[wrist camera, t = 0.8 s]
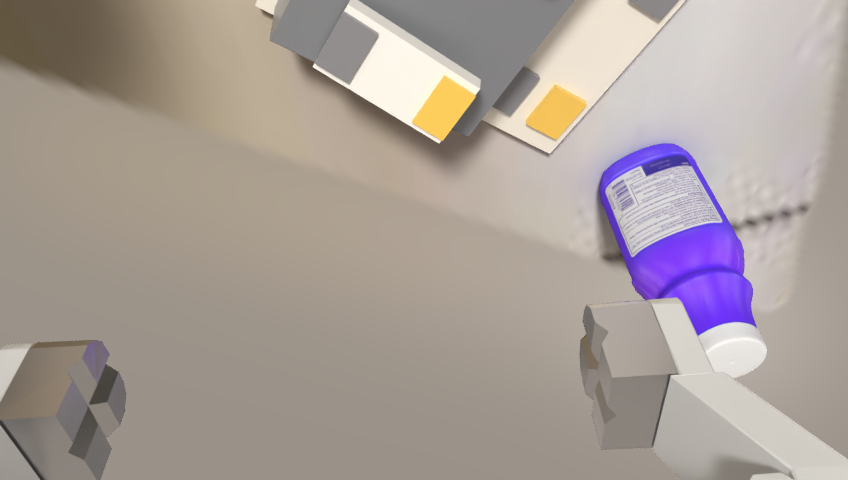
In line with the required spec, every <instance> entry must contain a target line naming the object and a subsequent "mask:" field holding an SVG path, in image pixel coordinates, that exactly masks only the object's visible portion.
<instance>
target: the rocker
mask: <svg viewBox="0 0 848 480" xmlns="http://www.w3.org/2000/svg"><path fill="white" fill-rule="evenodd" d="M313 68H315V69H317V70H318V71H320V72H322V73H323V74H325V75H327V76H328V77H330V78H331V79H333V80H335V81H336V82H338V83H340V84H341V85H343V86H345V87H346V88H348V89H350V90H351V91H353V92H355V93H356V94H358V95H360V96H361V97H363V98H364V99H366V100H368V101H369V102H371V103H373V104H374V105H376V106H378V107H379V108H381V109H383V110H384V111H386V112H388V113H389V114H391V115H393V116H394V117H396V118H398V119H399V120H401V121H402V122H404V123H406V124H407V125H409V126H411V127H412V128H414V129H416V130H417V131H419V132H421V133H422V134H424V135H426V136H427V137H429V138H431V139H432V140H434V141H435V142H437V143H440V142H441V141H443V140H444V139H445V137H446V136H447V135H448V133H449V132H450V131H451V129H452V128H453V127H454V125H455V124H456V123H457V121H458V120H459V119H460V117H461V116H462V115H463V113H464V112H465V111H466V109H467V108H468V107H469V105H470V104H471V103H472V101H473V100H474V99H475V97H476V94H477V93H478V91H479V90H480V83H481V79H479V78H478V77H476V76H475V75H473V74H471V73H470V72H468V71H467V70H465V69H464V68H462V67H461V66H459V65H458V64H456V63H454V62H453V61H451V60H450V59H448V58H447V57H445V56H444V55H442V54H441V53H439V52H437V51H436V50H434V49H433V48H431V47H430V46H428V45H427V44H425V43H423V42H422V41H420V40H419V39H417V38H416V37H414V36H413V35H411V34H410V33H408V32H406V31H405V30H403V29H402V28H400V27H399V26H397V25H396V24H394V23H392V22H391V21H389V20H388V19H386V18H385V17H383V16H382V15H380V14H379V13H377V12H375V11H374V10H372V9H371V8H369V7H368V6H366V5H365V4H363V3H362V2H360V1H358V0H350V1H349V3H348V5H347V7H346V8H345V10H344V12H343V14H342V15H341V17H340V19H339V21H338V22H337V24H336V26H335V28H334V30H333V31H332V33H331V35H330V37H329V38H328V40H327V42H326V44H325V45H324V47H323V49H322V51H321V52H320V54H319V56H318V58H317V60H316V61H315V63H314V65H313Z"/></svg>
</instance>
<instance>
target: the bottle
mask: <svg viewBox="0 0 848 480" xmlns="http://www.w3.org/2000/svg"><path fill="white" fill-rule="evenodd" d="M600 195H601V202H602V205H603V206H604V209H605V212H606V214H607V217H608V219H609V222H610V225H611V227H612V230H613V233H614V235H615V238H616V240H617V243H618V245H619V248H620V251H621V253H622V256H623V258H624V261H625V264H626V266H627V269H628V271H629V274H630V276H631V278H632V284H633V286H634V288H635V290H636V291H637V293H639V294H640V295H641V296H642V297H643V298H644V299H645V300H651V299H664V298H676V297H677V298H678V299H679V300H680V301H682V303H683V305H684V307H685V310H686V312H687V314H688V316H689V318H690V320H691V322H692V325H693V327H694V329H695V331H696V333H697V335H698V337H699V340H700V342H701V344H702V346H703V348H704V350H705V352H706V355H707V357H708V359H709V361H710V363H711V365H712V368H713V370H714V372H725V373H726V374H728V375H729V376H730V377H732V378H736V377H739V376H742V375H744V374H747V373H748V372H750V371H752V370H754V369H755V368H756V367H758V366H759V365H760V364H761V363H762V362H763V361H764V359H765V357H766V353H767V348H766V345H765V343H764V341H763V339H762V337H761V334H760V332H759V330H758V329H757V327H756V324H755V321H754V318H753V315H752V310H751V301H752V296H753V288H752V285H751V283H750V282H749V281H748V280H747V279H746V278H745V277H744V276H743V273H744V249H743V246H742V243H741V241H740V240H739V239H738V237H737V236H736V233H735V231H734V230H733V228H732V226H731V224H730V223H729V221H728V219H727V217H726V216H725V214H724V212H723V210H722V208H721V207H720V205H719V203H718V202H717V200H716V198H715V196H714V194H713V193H712V191H711V189H710V187H709V186H708V184H707V182H706V180H705V178H704V177H703V175H702V173H701V171H700V170H699V168H698V166H697V164H696V162H695V160H694V159H693V157H692V156H691V155H690V154H689V153H688V152H687V151H686V150H684V149H683V148H681V147H679V146H677V145H675V144H658V145H653V146H650V147H646V148H644V149H641V150H638V151H636V152H634V153H631V154H629V155H627V156H625V157H624V158H622V159H620V160H618V161H617V162H615V163H614V164H612V165H611V166H610V167H609V168H608V169H607V170H606V171H604V173H603V176H602V179H601V184H600Z"/></svg>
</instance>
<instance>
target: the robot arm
mask: <svg viewBox="0 0 848 480" xmlns="http://www.w3.org/2000/svg"><path fill="white" fill-rule="evenodd" d="M583 323H584V327H585V330H586V335H585V336H584V337H583V338H582V339H581V343H580V368H581V375H582V381H583V385H584V389H585V392H586V395H588V396H589V397H590V398H591V399H593V400H594V402H593V409H592V419H593V423H594V426H595V430H596V433H597V437H598V441H599V444H600V448H601V450H607V449H631V448H653V451H654V452H655V453H656V454H657V455H658V456H659V457H660V458H661V459H662V460H663V461H664V462H665V463H666V464H667V465H668V466H669V467H670V469H671V470H673V471H674V472H675V474H676V475H677V476H678V477H679V478H680V479H681V480H848V459H846V458H845V457H844V456H842V455H841V454H839V453H838V452H837V451H835V450H834V449H832V448H831V447H829V446H828V445H827V444H825V443H824V442H822V441H821V440H819V439H818V438H816V437H815V436H814V435H812V434H811V433H810V432H808V431H807V430H805V429H804V428H802V427H801V426H800V425H798V424H797V423H796V422H794V421H793V420H791V419H790V418H788V417H787V416H785V415H784V414H783V413H781V412H780V411H779V410H777V409H776V408H774V407H773V406H771V405H770V404H769V403H767V402H765V401H764V400H763V399H761V398H760V397H759V396H757V395H756V394H755V393H753V392H752V391H750V390H749V389H747V388H746V387H745V386H743V385H742V384H740V383H739V382H738V381H736V380H735V379H733V378H732V377H730V376H729V375H728V374H726V373H725V372H714V370H713V368H712V365H711V363H710V361H709V359H708V357H707V355H706V352H705V350H704V348H703V346H702V344H701V342H700V340H699V337H698V335H697V333H696V331H695V329H694V327H693V325H692V322H691V320H690V318H689V316H688V314H687V312H686V310H685V307H684V305H683V303H682V301H680V300H679V299H678V298H677V297H676V298H664V299H651V300H646V301H645V300H640V301H626V302H614V303H601V304H589V305H586V307H585V310H584V316H583ZM108 357H109V352H108V351H107V349H106V348H105V346H104V344H103V342H102V341H98V340H83V341H82V340H81V341H59V342H38V343H27V344H8V345H6V346H5V347H4V348H2V349H1V350H0V480H100V479H101V477H102V474H103V471H104V468H105V466H106V463H107V460H108V458H109V455H110V452H111V449H112V448H111V446H110V444H109V441H108V439H107V437H108V436H109V435H110V434H112V433H113V432H114V431H115V430H116V429H117V428H118V427H119V426H120V424H121V422H122V419H123V416H124V413H125V403H126V391H125V387H124V381H123V380H122V377H121V375H120V373H119V372H118V371H116V370H115V369H113V368H112V367H110V366H108V365H107V364H106V362H107V359H108Z"/></svg>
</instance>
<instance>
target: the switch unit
mask: <svg viewBox="0 0 848 480" xmlns="http://www.w3.org/2000/svg"><path fill="white" fill-rule="evenodd" d="M349 1H350V0H256V4H255V6H257V7H259V8H260V9H262V10H264V11H266V12H268V13H270V14H272V15H274V16H273V22H272V28H271V35H270V41H272V42H274V43H276V44H278V45H280V46H282V47H284V48H286V49H288V50H290V51H292V52H294V53H297V54H299V55H301V56H303V57H305V58H307V59H309V60H311V61H313V62H315V61H316V60H317V58H318V56H319V54H320V52H321V51H322V49H323V47H324V45H325V44H326V42H327V40H328V38H329V37H330V35H331V33H332V31H333V30H334V28H335V26H336V24H337V22H338V21H339V19H340V17H341V15H342V14H343V12H344V10H345V8H346V7H347V5H348V3H349ZM358 1H360V2H362V3H363V4H365V5H366V6H368V7H369V8H371V9H372V10H374V11H375V12H377V13H379V14H380V15H382V16H383V17H385V18H386V19H388V20H389V21H391V22H392V23H394V24H396V25H397V26H399V27H400V28H402V29H403V30H405V31H406V32H408V33H410V34H411V35H413V36H414V37H416V38H417V39H419V40H420V41H422V42H423V43H425V44H427V45H428V46H430V47H431V48H433V49H434V50H436V51H437V52H439V53H441V54H442V55H444V56H445V57H447V58H448V59H450V60H451V61H453V62H454V63H456V64H458V65H459V66H461V67H462V68H464V69H465V70H467V71H468V72H470V73H471V74H473V75H475V76H476V77H478V78H479V79H481V83H480V90H479V91H478V93H477V94H476V97H475V99H474V100H473V101H472V103H471V104H470V105H469V107H468V108H467V109H466V111H465V112H464V113H463V115H462V116H461V117H460V119H459V120H458V121H457V123H456V124H455V125H454V127H453V128H452V129H453V130H455V131H457V132H459V133H461V134H463V135H465V136H467V137H469V135H470V134H471V133H472V131H473V130H474V129H475V128H476V126H477V125H478V124H479V122H480V121H481V120H483V121H485V122H487V123H489V124H491V125H493V126H495V127H497V128H499V129H501V130H503V131H505V132H507V133H509V134H511V135H513V136H515V137H517V138H519V139H521V140H523V141H525V142H527V143H529V144H531V145H533V146H535V147H537V148H539V149H541V150H543V151H545V152H547V153H549V154H550V153H551V152H552V151H553V150H554V149H555V148H556V147H557V145H558V144H559V143H560V142H561V141H562V140H563V139H564V138H565V136H566V135H567V134H568V133H569V132H570V131H571V130H572V129H573V127H574V126H575V125H576V124H577V123H578V122H579V121H580V119H581V118H582V117H583V116H584V115H585V114H586V113H587V112H588V110H589V109H590V108H591V107H592V106H593V105H594V104H595V103H596V101H597V100H598V99H599V98H600V97H601V96H602V95H603V93H604V92H605V91H606V90H607V89H608V88H609V87H610V86H611V84H612V83H613V82H614V81H615V80H616V79H617V78H618V77H619V75H620V74H621V73H622V72H623V71H624V70H625V69H626V67H627V66H628V65H629V64H630V63H631V62H632V61H633V60H634V58H635V57H636V56H637V55H638V54H639V53H640V52H641V51H642V49H643V48H644V47H645V46H646V45H647V44H648V43H649V41H650V40H651V39H652V38H653V37H654V36H655V35H656V34H657V32H658V31H659V30H660V29H661V28H662V27H663V26H664V25H665V23H666V22H667V21H668V20H669V19H670V18H671V17H672V15H673V14H674V13H675V12H676V11H677V10H678V9H679V8H680V6H681V5H682V4H683V3H684V2H685V1H686V0H358Z"/></svg>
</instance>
